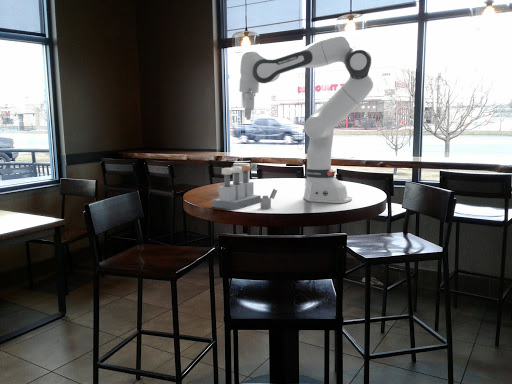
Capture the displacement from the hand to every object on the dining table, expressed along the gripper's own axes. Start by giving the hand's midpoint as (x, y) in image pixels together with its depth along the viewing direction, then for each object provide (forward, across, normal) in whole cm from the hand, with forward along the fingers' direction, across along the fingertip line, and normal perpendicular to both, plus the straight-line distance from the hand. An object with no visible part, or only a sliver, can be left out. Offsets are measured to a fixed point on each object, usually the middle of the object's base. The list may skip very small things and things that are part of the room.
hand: (247, 118), depth 208 cm
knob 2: (+29, -15, 0) cm, 33 cm away
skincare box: (+40, +16, 0) cm, 43 cm away
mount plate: (+36, -21, +4) cm, 42 cm away
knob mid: (+29, -20, +5) cm, 35 cm away
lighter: (+34, -30, -9) cm, 47 cm away
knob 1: (+28, -26, +9) cm, 39 cm away
